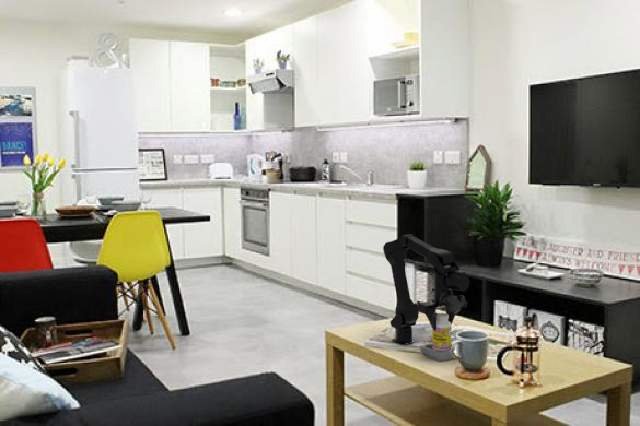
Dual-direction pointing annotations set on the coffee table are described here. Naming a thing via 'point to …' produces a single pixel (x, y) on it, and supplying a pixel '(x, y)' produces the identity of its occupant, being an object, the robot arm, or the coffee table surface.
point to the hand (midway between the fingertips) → (441, 328)
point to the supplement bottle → (442, 333)
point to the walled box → (435, 353)
